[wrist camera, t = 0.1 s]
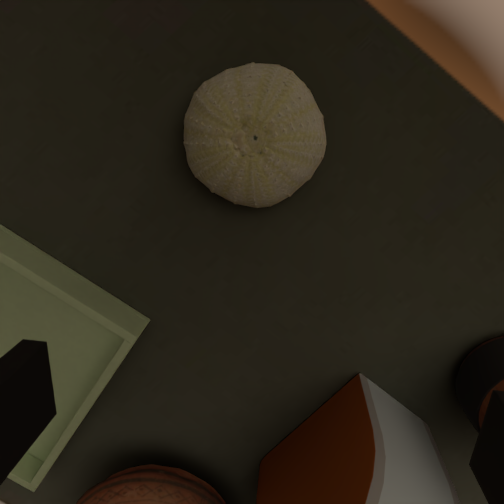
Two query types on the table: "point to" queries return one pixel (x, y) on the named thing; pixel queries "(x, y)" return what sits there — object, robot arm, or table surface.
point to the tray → (61, 340)
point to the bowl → (152, 488)
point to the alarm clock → (357, 455)
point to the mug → (480, 379)
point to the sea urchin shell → (254, 134)
